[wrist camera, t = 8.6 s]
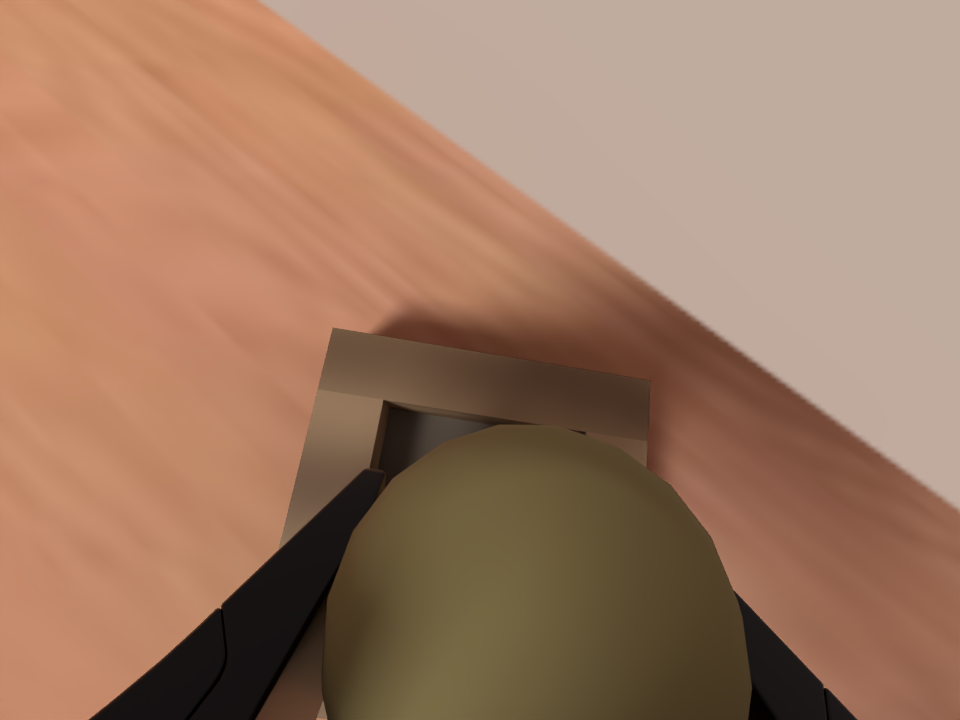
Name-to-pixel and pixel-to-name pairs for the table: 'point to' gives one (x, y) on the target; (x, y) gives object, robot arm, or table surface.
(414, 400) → the walnut pocket block
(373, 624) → the olive mushroom shape
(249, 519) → the table surface
